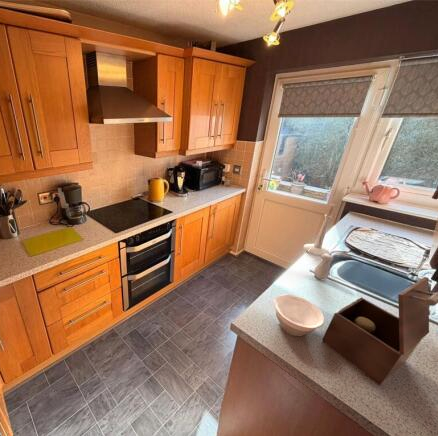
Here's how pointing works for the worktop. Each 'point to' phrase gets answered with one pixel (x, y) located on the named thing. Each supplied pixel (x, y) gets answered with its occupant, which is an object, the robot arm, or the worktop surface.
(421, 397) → the worktop surface
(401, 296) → the lid
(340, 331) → the chest
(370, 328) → the cork
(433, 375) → the worktop surface
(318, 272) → the salt shaker
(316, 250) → the candlestick
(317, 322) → the bowl
